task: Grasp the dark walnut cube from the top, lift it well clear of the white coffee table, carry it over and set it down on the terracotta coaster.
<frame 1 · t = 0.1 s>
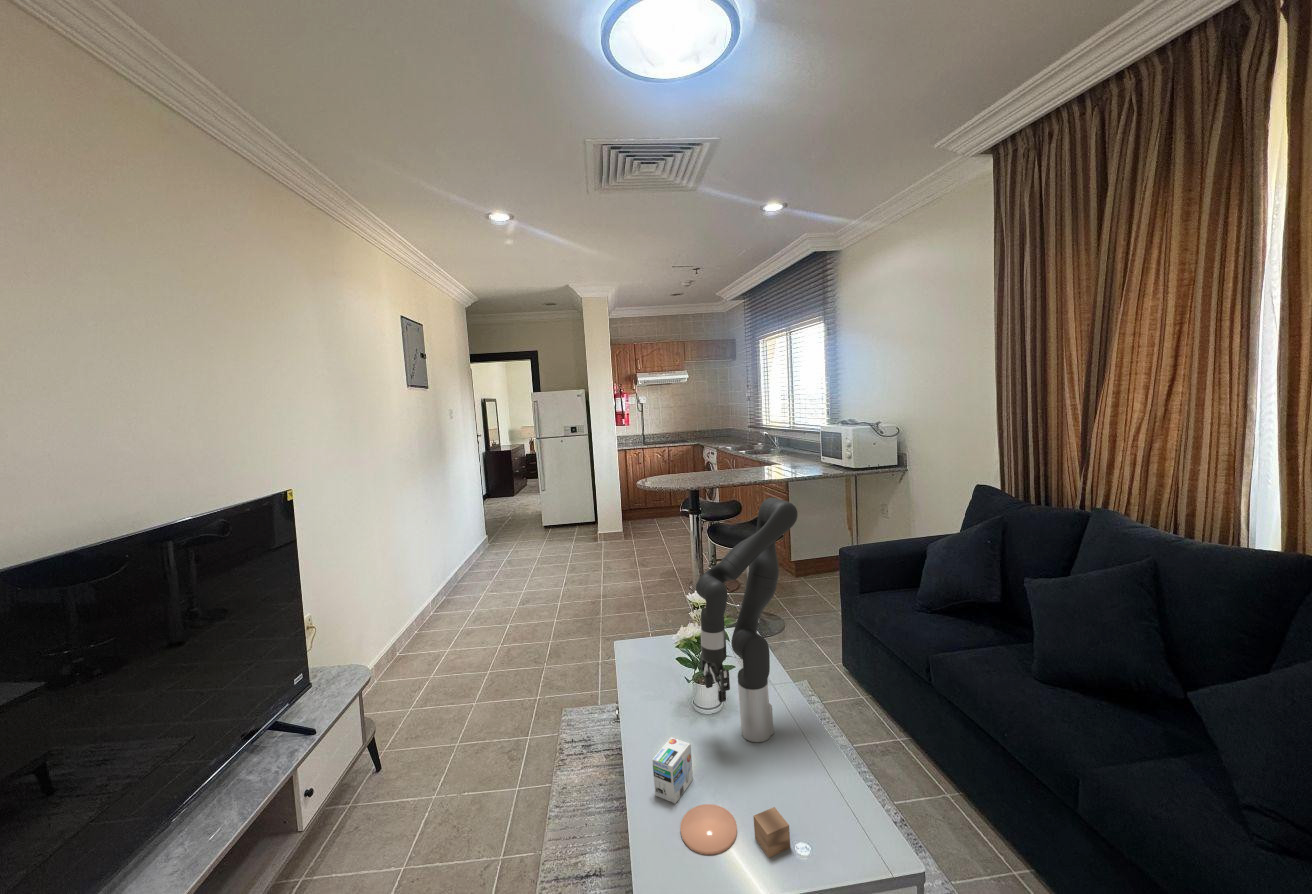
hand: (715, 694, 157), 17 cm above the table, tool pointing down, fingers open, 8 cm apart
walnut cube: (772, 843, 124), on the table
light bulb box: (674, 787, 144), on the table
terracotta coaster: (708, 830, 129), on the table
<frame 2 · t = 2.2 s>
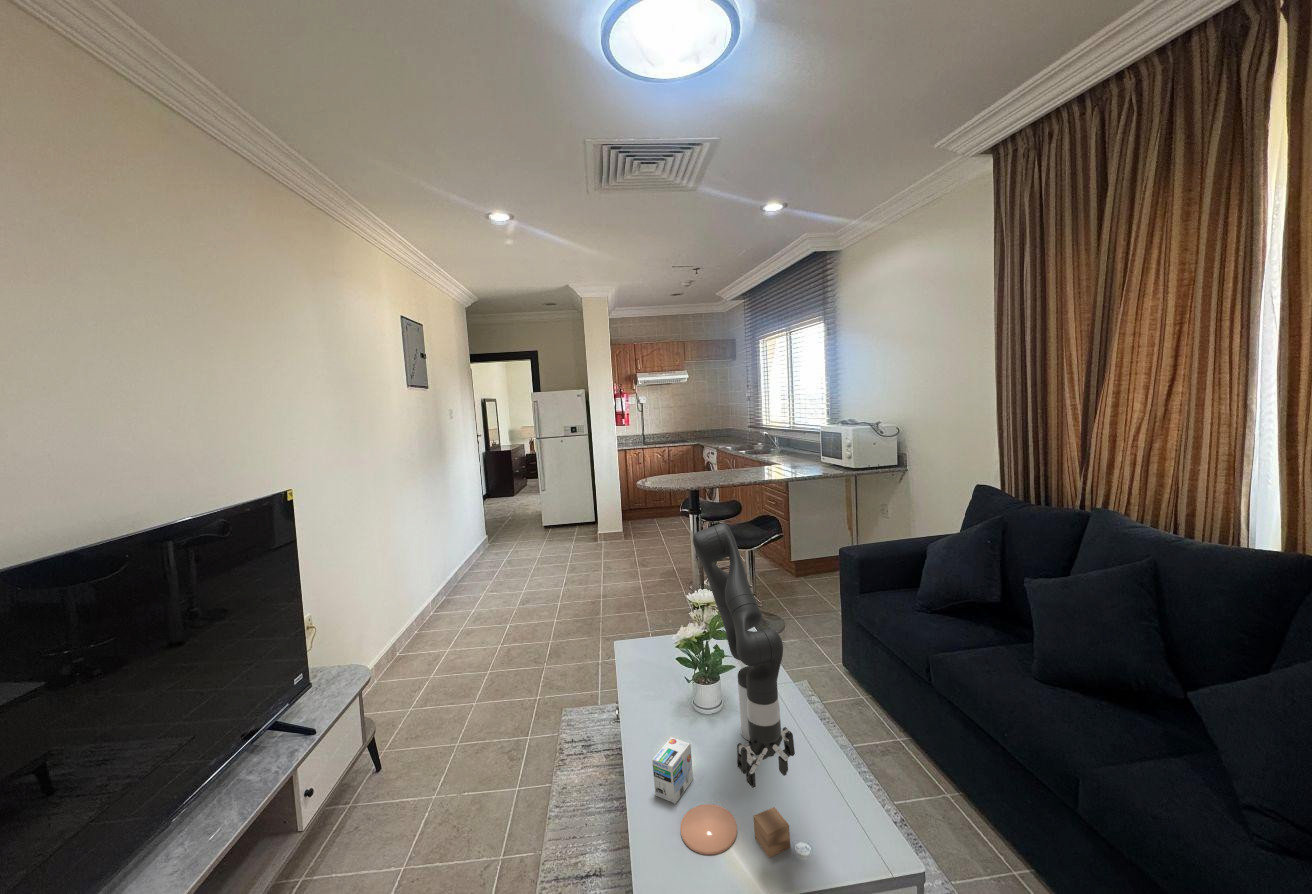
hand: (767, 779, 123), 16 cm above the table, tool pointing down, fingers open, 8 cm apart
nothing on the table moved.
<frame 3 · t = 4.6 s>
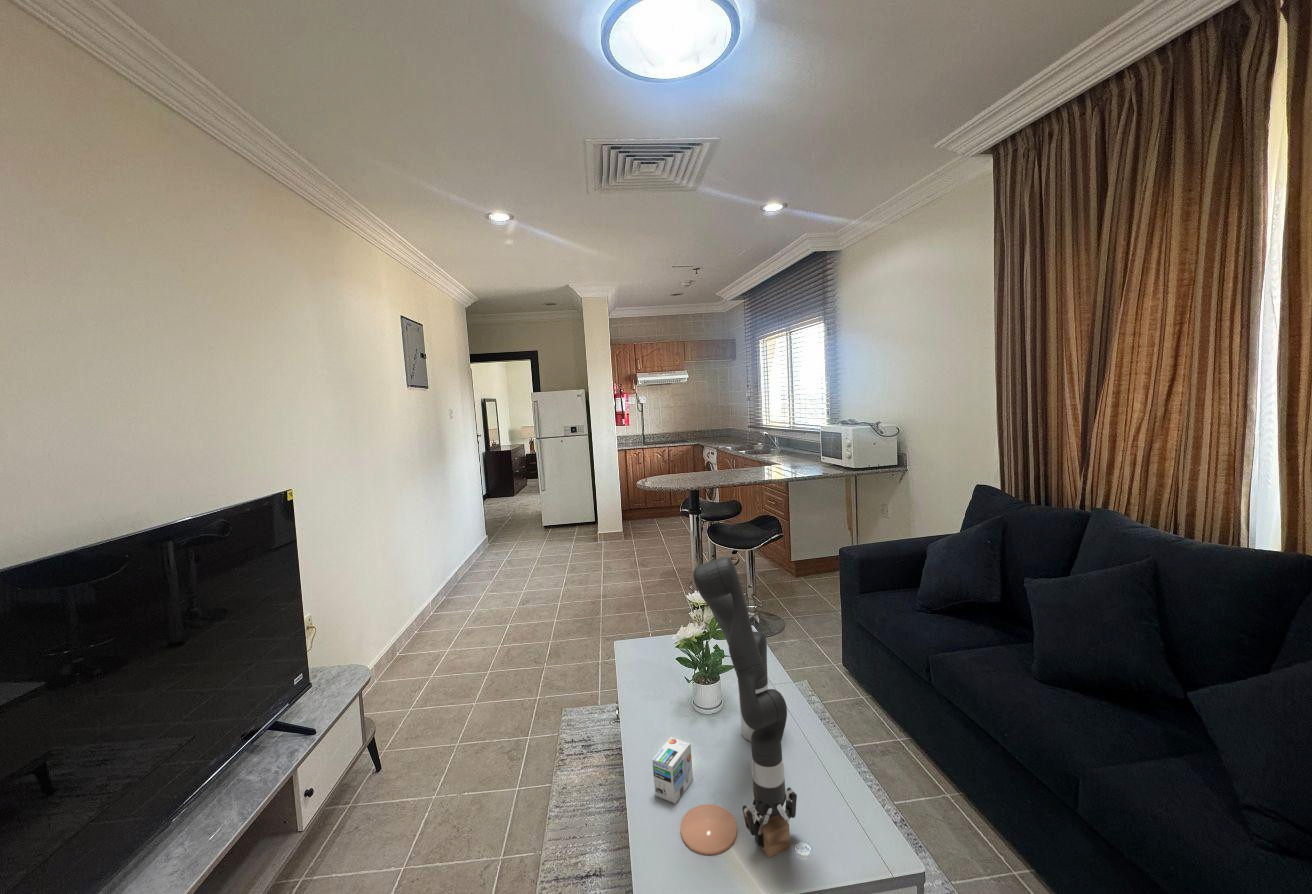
hand: (772, 839, 124), 1 cm above the table, tool pointing down, fingers closed on walnut cube, 6 cm apart
walnut cube: (772, 842, 124), on the table, touching gripper
everything else where it was.
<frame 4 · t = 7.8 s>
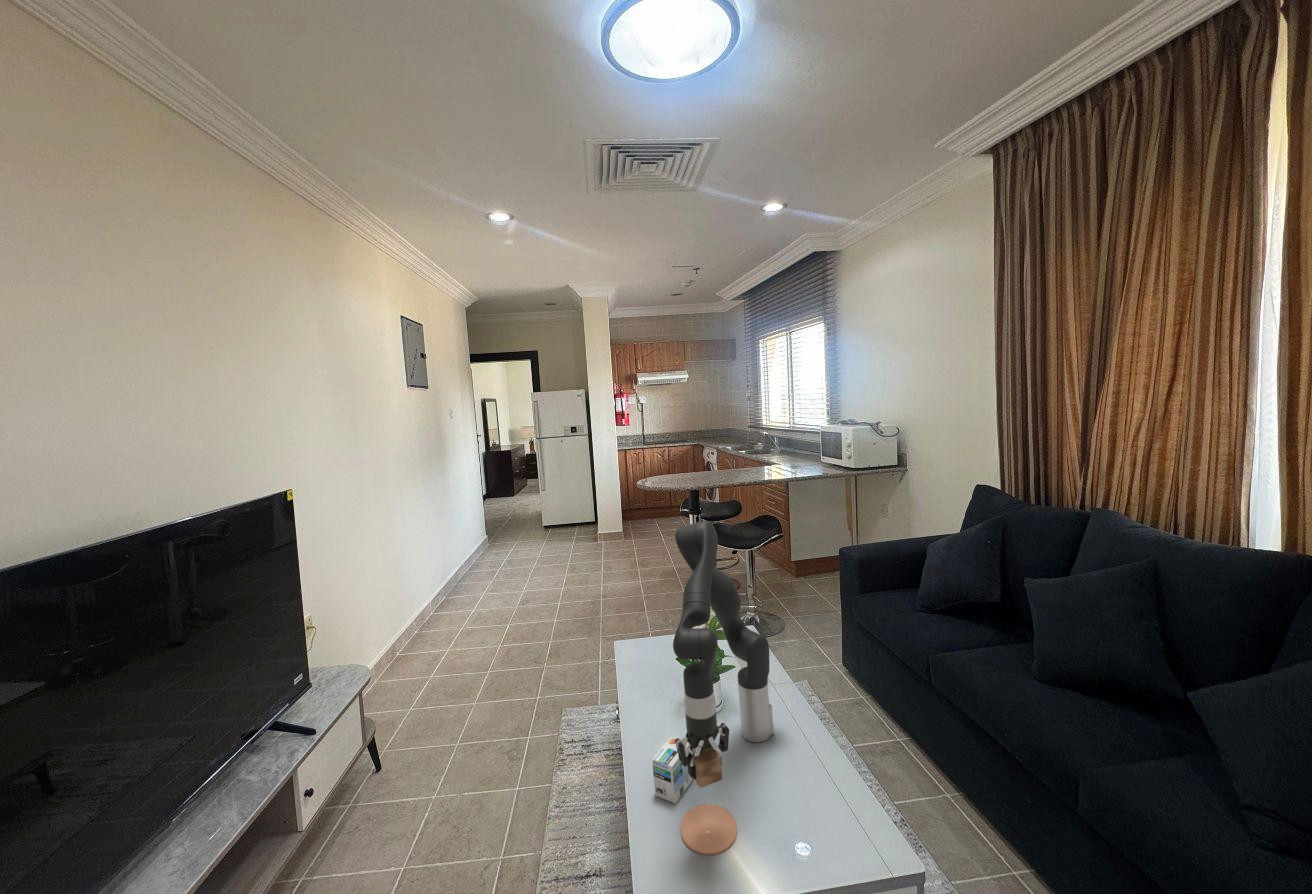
hand: (705, 772, 128), 16 cm above the table, tool pointing down, fingers closed on walnut cube, 6 cm apart
walnut cube: (705, 775, 128), point 15 cm above the table, touching gripper
everything else where it was.
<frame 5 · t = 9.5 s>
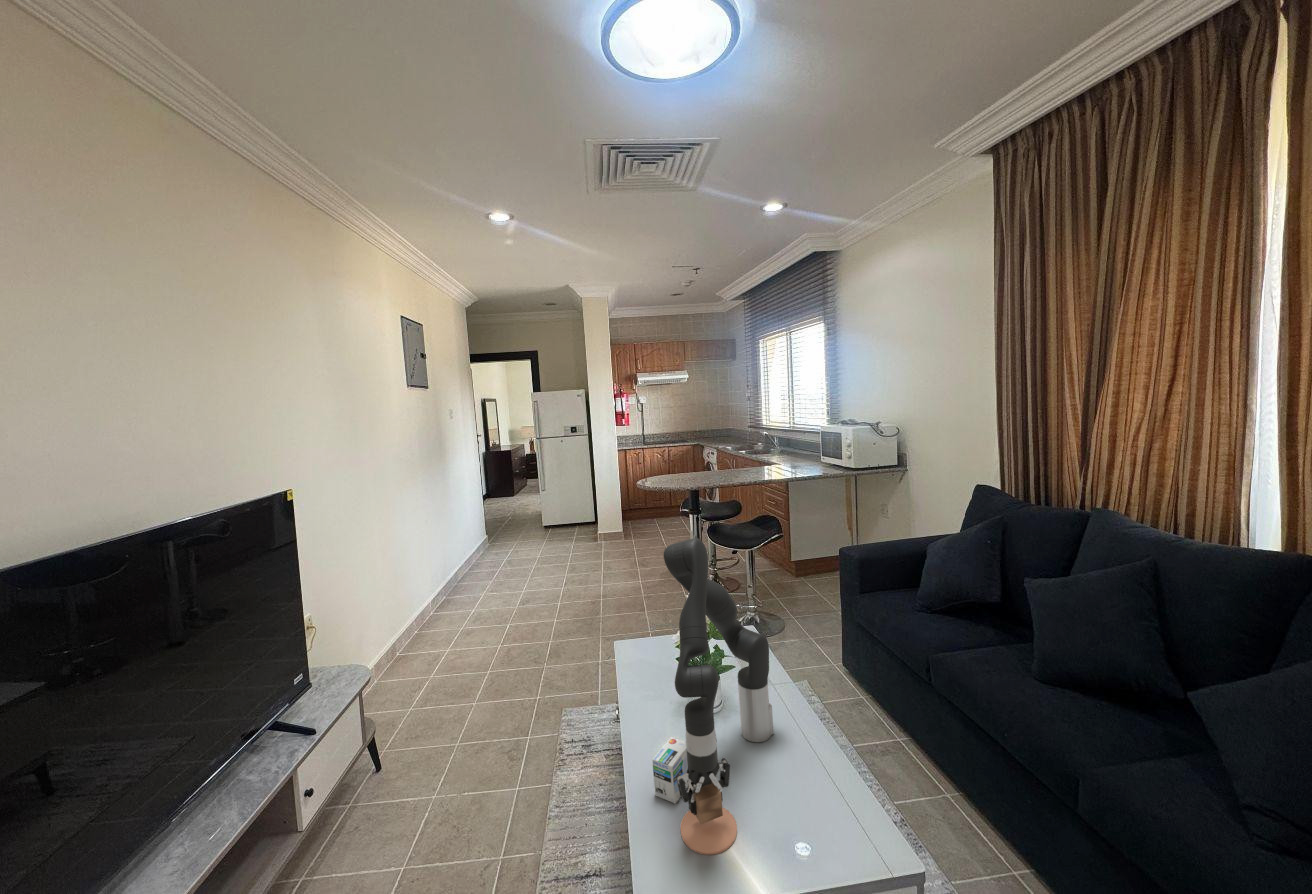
hand: (705, 807, 129), 6 cm above the table, tool pointing down, fingers closed on walnut cube, 6 cm apart
walnut cube: (706, 811, 129), point 5 cm above the table, touching gripper
everything else where it was.
when the fingers open (3 cm above the table, at t = 11.0 s): walnut cube drops 1 cm, resting on terracotta coaster.
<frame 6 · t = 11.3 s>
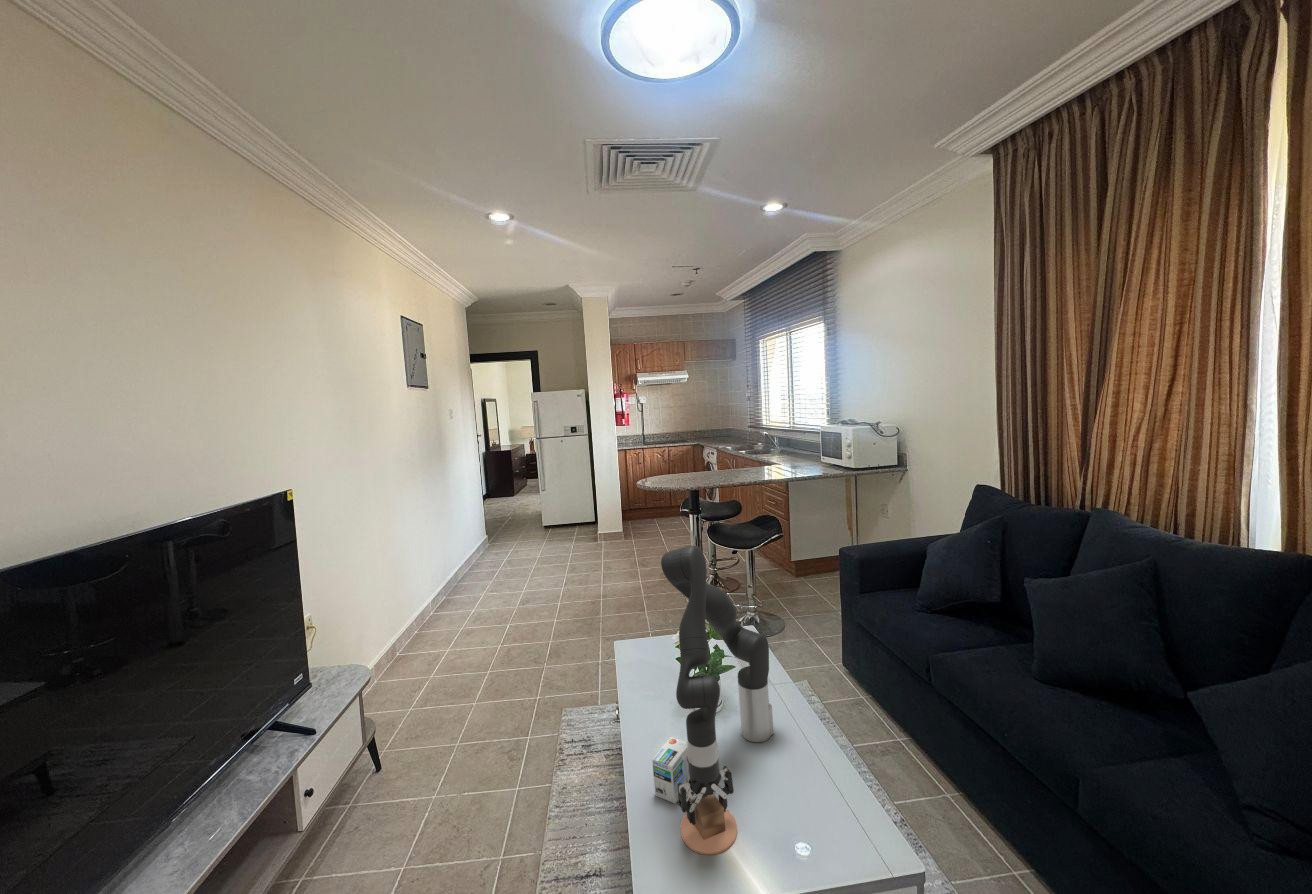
hand: (707, 816, 129), 4 cm above the table, tool pointing down, fingers open, 8 cm apart
walnut cube: (708, 826, 129), point 1 cm above the table, touching terracotta coaster
everything else where it was.
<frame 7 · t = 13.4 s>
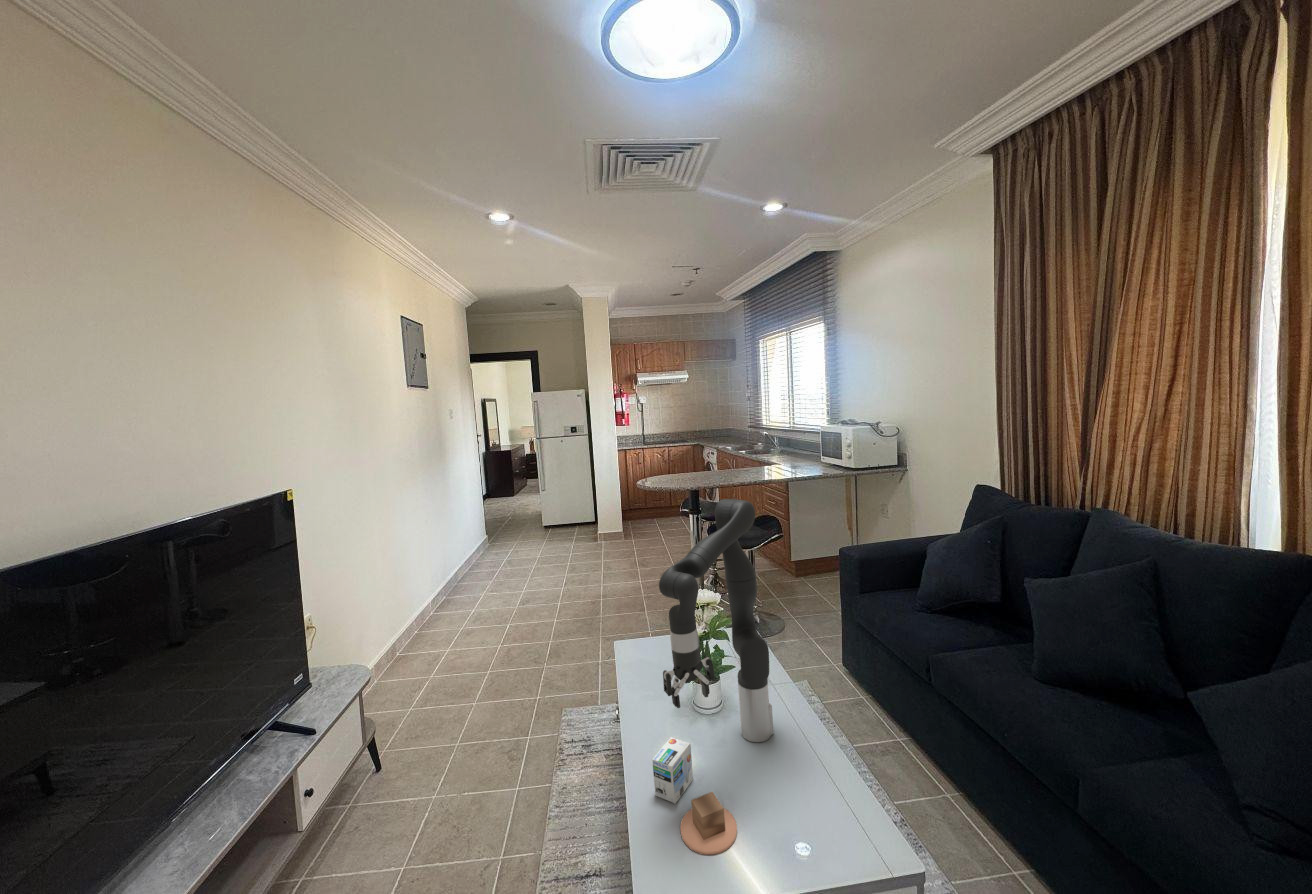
hand: (691, 701, 140), 26 cm above the table, tool pointing down, fingers open, 8 cm apart
nothing on the table moved.
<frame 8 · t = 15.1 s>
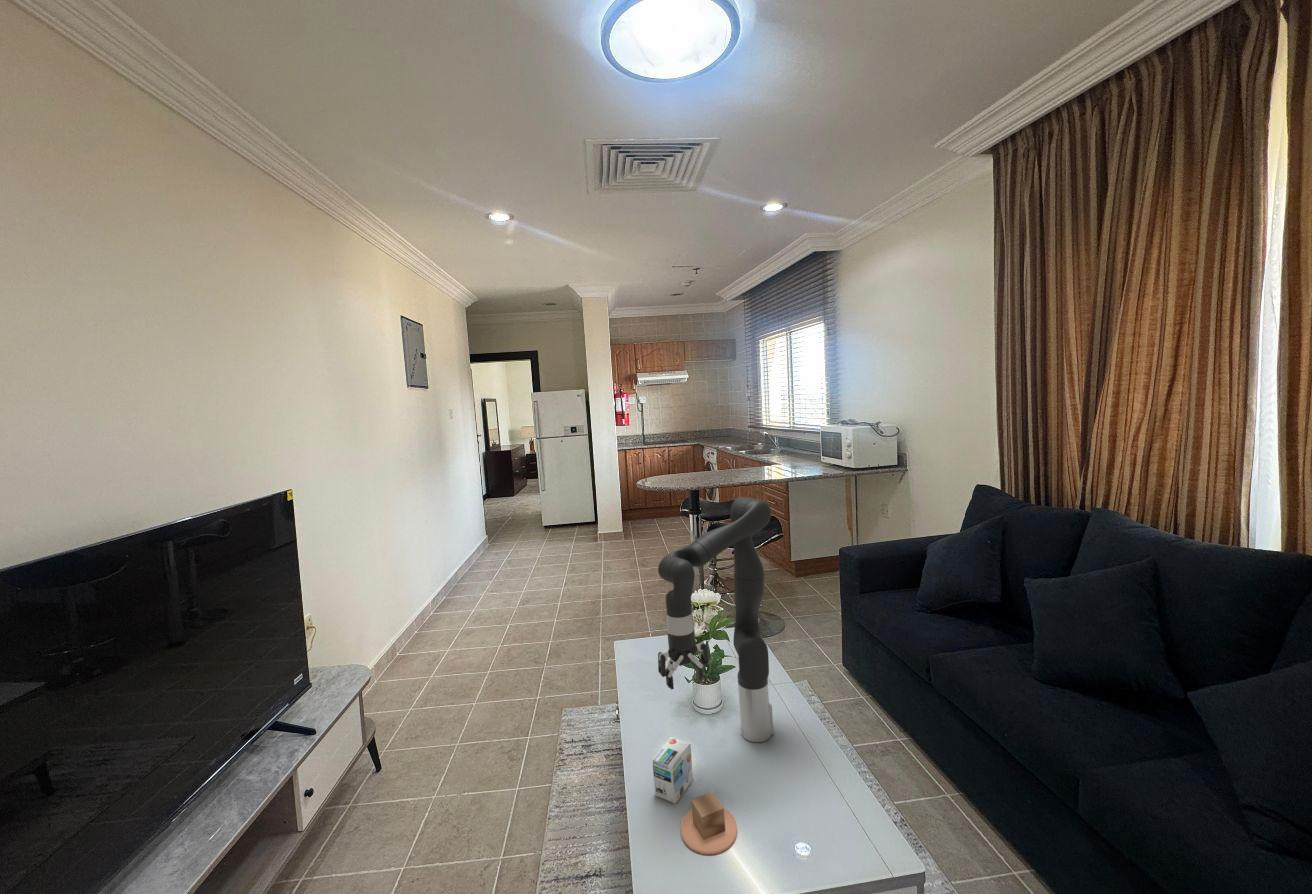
hand: (685, 683, 145), 28 cm above the table, tool pointing down, fingers open, 8 cm apart
nothing on the table moved.
at the end: walnut cube inside the target area on the terracotta coaster (0.1 cm from its centre), point 1.0 cm above the terracotta coaster's base; walnut cube tilted 0°; the gripper is holding nothing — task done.
